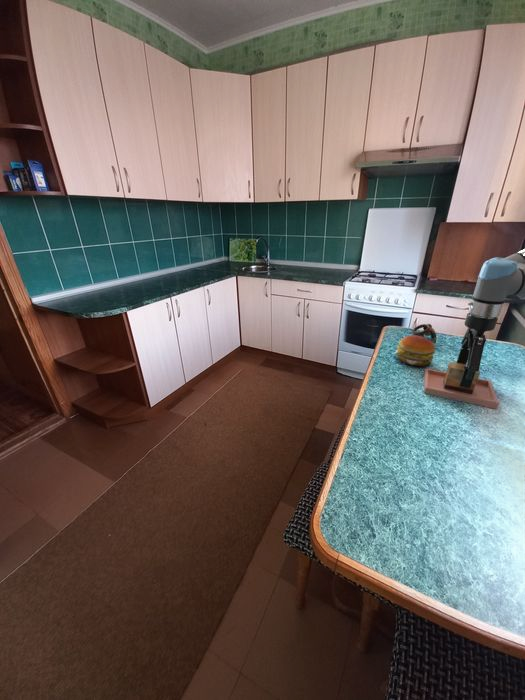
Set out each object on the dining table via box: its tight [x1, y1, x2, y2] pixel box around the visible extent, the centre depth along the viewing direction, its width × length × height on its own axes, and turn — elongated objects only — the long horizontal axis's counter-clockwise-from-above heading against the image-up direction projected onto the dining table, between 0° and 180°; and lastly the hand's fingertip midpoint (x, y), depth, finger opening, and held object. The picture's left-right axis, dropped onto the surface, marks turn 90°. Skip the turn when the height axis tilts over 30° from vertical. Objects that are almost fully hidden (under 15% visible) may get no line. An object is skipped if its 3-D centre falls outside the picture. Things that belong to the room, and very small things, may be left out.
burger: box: [394, 335, 436, 367], centre depth 113 cm, size 14×14×10 cm
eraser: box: [443, 361, 481, 394], centre depth 95 cm, size 8×4×8 cm, turn 63°
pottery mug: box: [411, 323, 437, 344], centre depth 132 cm, size 12×10×8 cm
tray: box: [423, 368, 500, 410], centre depth 97 cm, size 20×14×2 cm
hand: (462, 376), depth 95 cm, fingers open, 13 cm apart
